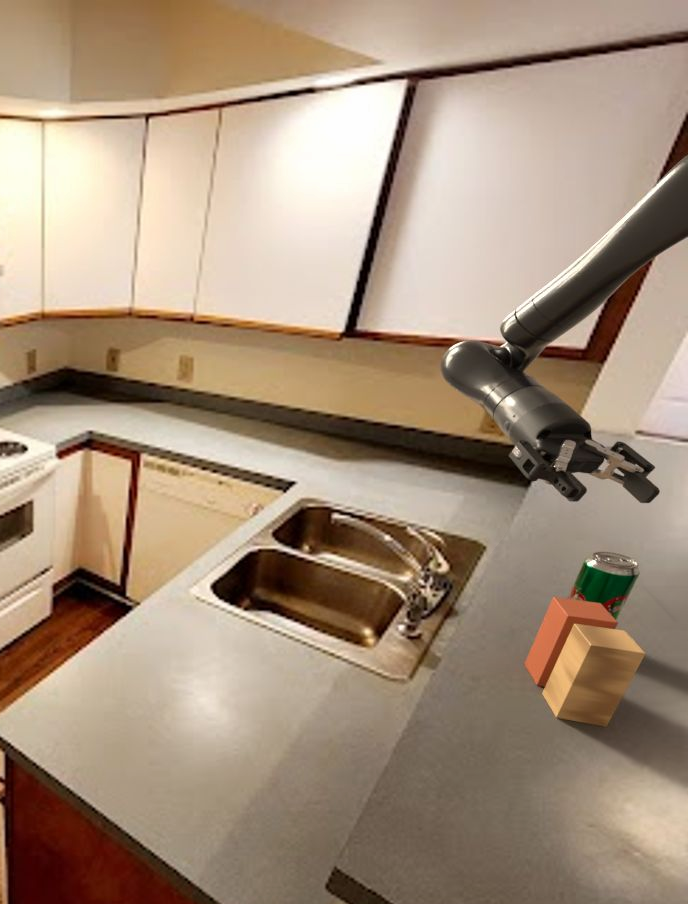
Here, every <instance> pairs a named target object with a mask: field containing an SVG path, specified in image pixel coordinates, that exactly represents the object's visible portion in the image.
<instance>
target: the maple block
mask: <svg viewBox="0 0 688 904" xmlns="http://www.w3.org/2000/svg"><path fill="white" fill-rule="evenodd" d="M645 655H646V652H645V651H644V650H643V648H641V647H640V646H639V644H638V643H637V642H636V641H635V640H634V639H633V638H632V636H631V635H630V634H629V633H628V632H627V631H626V630H622V629H616V628H615V629H609V628H602V627H595V626H588V625H581V624H574V625H573V627H572V629H571V631H570V634H569V636H568V638H567V640H566V642H565V645H564V647H563V649H562V651H561V653H560V656H559V658H558V660H557V662H556V664H555V666H554V669H553V671H552V673H551V675H550V677H549V680H548V682H547V684H546V686H545V687H544V689H543V690H542V692H541V694H542V697H543V698H544V699H545V701H546V703H547V704H548V706H549V708H550V709H551V711H552V713H553V714H554V717H555V718H556V719H561V720H566V721H573V722H577V723H582V724H586V725H587V724H588V725H593V726H598V727H604V728H607V727H608V725H609V723H610V722H611V719H612V717H613V716H614V713H615V712H616V710H617V708H618V706H619V704H620V703H621V701H622V699H623V697H624V695H625V693H626V691H627V689H628V687H629V686H630V684H631V682H632V680H633V678H634V676H635V674H636V672H637V670H638V668H639V666H640V665H641V663H642V661H643V659H644V657H645Z"/></svg>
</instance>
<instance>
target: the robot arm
mask: <svg viewBox="0 0 688 904" xmlns="http://www.w3.org/2000/svg"><path fill="white" fill-rule="evenodd" d="M687 238H688V154H687V155H686V156H684V157H683V158H682V159H681V160H679V161H678V162H677V163H676V164H675V165H674V166H673V167H672V168H671V169H670V170H668V171H667V173H665V174H664V175H663V176H662V178H661V179H659V181H657V182H656V184H654V185H653V187H652V188H650V190H648V191H647V192H646V194H645V195H644V196H642V198H641V199H640V200H639V201H638V202H637V203H636V204H635V205H634V206H633V207H632V208H631V209H630V211H628V212H627V213H626V214H625V215H624V216H623V217H622V218H621V219H620V220H619V221H618V222H617V223H615V225H614V226H613V227H612V228H611V229H610V230H608V231H607V232H606V233H605V234H604V235H603V236H602V237H601V238H600V239H599V240H598V241H596V243H595V244H593V246H591V247H590V248H589V249H588V250H586V252H585V253H583V255H581V256H580V257H579V258H578V259H577V260H575V261H574V262H573V263H572V264H570V266H568V267H567V268H566V269H565V270H563V271H562V272H560V274H559V275H557V276H556V277H555V278H554V279H552V280H551V281H550V282H548V283H547V284H546V285H545V286H543V287H542V288H541V289H540V290H538V291H537V292H535V293H534V294H533V295H532V296H530V297H529V298H528V299H526V301H524V302H523V303H521V304H520V305H519V306H517V308H515V309H514V310H513V311H512V312H510V313H509V314H508V315H507V316H506V317H505V318H504V319H503V320H502V322H501V324H500V327H499V330H500V335H501V337H502V338H503V340H505V341H506V342H505V343H503V344H502V345H500V346H499V345H496V344H491V343H487V342H485V341H479V340H473V339H471V340H463V341H461V342H458V343H455V344H454V345H452V346H450V347H449V349H447V350H446V352H445V353H444V354H443V356H442V358H441V361H440V373H441V376H442V378H443V380H444V381H445V382H446V383H447V384H448V385H449V386H450V387H451V388H453V389H454V390H456V391H457V392H459V393H460V394H461V395H463V396H464V397H466V398H467V399H469V400H471V401H473V402H474V403H476V404H477V405H479V406H480V407H481V408H482V409H483V411H485V413H486V414H487V415H488V416H489V417H490V418H491V419H492V420H493V421H494V422H495V423H496V425H497V427H498V429H500V432H502V433H503V435H504V436H505V437H506V438H507V439H508V440H509V441H510V442H511V443H512V444H513V445H514V447H513V449H512V450H511V452H510V453H509V454H508V458H510V460H511V461H512V462H513V463H514V465H516V467H517V468H518V470H519V471H520V472H521V474H523V475H524V478H526V479H527V480H529V481H531V482H537V481H538V480H542V481H543V482H544V483H545V484H547V485H552V487H553V488H554V489H556V491H557V492H558V493H559V494H560V495H561V496H563V497H564V498H565V499H566V500H567V501H568V502H570V503H575V502H576V503H577V502H580V500H581V499H582V498H583V497H584V496H585V495H586V493H587V492H588V489H587V487H586V486H585V485H584V484H583V482H581V481H580V480H579V479H578V478H577V477H576V476H575V475H574V474H576V473H582V474H587V475H589V476H593V477H595V478H597V479H599V480H602V481H603V480H607V479H608V480H611V481H613V482H615V483H617V484H620V485H621V486H622V487H623V488H624V489H625V490H626V491H627V492H628V493H629V494H630V495H631V496H633V498H635V499H636V500H637V501H638V502H639V503H640V504H650V503H651V502H653V501H654V500H655V499H656V498H657V497H658V496H659V495H660V492H661V491H660V488H659V487H658V486H657V485H656V484H654V483H653V482H652V481H651V480H650V479H649V478H648V476H649V475H650V474H651V473H652V472H653V471H654V470H655V469H656V466H655V465H654V464H652V463H651V462H650V461H649V460H648V459H646V458H645V457H643V456H642V455H641V454H640V453H639V452H637V451H636V450H634V449H633V448H632V447H631V446H630V445H629V444H627V443H625V442H623V441H616V442H614V444H613V445H611V446H604V444H602V443H600V442H598V441H596V440H594V439H593V436H592V435H593V434H592V427H591V424H590V423H589V422H588V421H587V420H586V419H585V418H584V417H582V415H580V413H578V412H577V411H576V410H575V409H574V408H573V407H571V406H570V405H569V404H568V403H567V402H566V401H564V400H563V399H562V398H561V397H560V396H559V395H557V394H555V393H554V392H552V391H550V390H549V389H547V388H546V387H545V386H544V385H543V384H541V382H539V381H538V380H537V379H536V378H535V377H533V376H532V375H531V374H529V373H527V372H526V370H527V369H528V368H529V367H530V365H531V364H532V363H533V362H534V361H535V360H536V359H537V358H538V357H539V355H540V354H541V353H542V352H543V350H545V349H546V347H547V346H549V345H551V344H552V343H553V342H555V341H556V340H558V339H559V338H560V337H562V336H563V335H565V334H566V333H567V332H569V331H570V330H571V329H572V328H574V327H576V326H577V325H579V324H580V323H581V322H583V321H584V320H585V319H586V318H588V317H589V316H590V315H592V314H593V313H594V312H595V311H596V310H597V309H598V308H600V306H602V305H603V304H604V303H605V302H607V301H608V299H609V298H610V297H611V296H612V295H613V294H614V293H615V292H616V291H617V290H618V289H619V288H620V287H622V285H623V284H624V283H625V282H626V281H627V280H628V279H630V277H631V276H633V275H634V274H635V273H636V272H638V271H639V270H640V269H641V268H642V267H644V266H645V265H646V264H648V263H649V262H650V261H652V260H653V259H655V258H656V257H658V256H659V255H661V254H662V253H663V252H665V251H666V250H669V249H670V248H672V247H673V246H675V245H677V244H679V243H681V242H682V241H683V240H685V239H687ZM605 460H606V464H608V465H607V466H606V468H605V469H603V470H602V469H599V468H600V467H601V466H602V465H603V464H604V462H605ZM615 470H618V471H619V472H620V473H621V474H622V475H621V474H619V473H617V472H615Z"/></svg>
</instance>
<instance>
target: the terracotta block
mask: <svg viewBox="0 0 688 904" xmlns="http://www.w3.org/2000/svg"><path fill="white" fill-rule="evenodd" d="M618 623H619V622H618V620H617V621H616V620H615V619H614V618H613V617H612V615H611V614H610V613H609V612H608V611H607V610H606V609H605V608H604V606H603V605H602V604H601V603H595V602H588V601H580V600H573V599H568V598H565V597H557V596H553V597H552V599H551V602H550V603H549V606H548V609H547V611H546V613H545V615H544V618H543V620H542V622H541V625H540V627H539V629H538V632H537V633H536V635H535V638H534V641H533V643H532V645H531V648H530V650H529V652H528V654H527V657H526V659H525V662H524V666H525V668H526V669H527V671H528V674H529V675H530V676H531V678H532V680H533V681H534V682H535V685H536V686H539V687H544V688H545V686H546V684H547V682H548V680H549V677H550V675H551V673H552V671H553V669H554V666H555V664H556V662H557V660H558V658H559V656H560V653H561V651H562V649H563V647H564V645H565V642H566V640H567V638H568V636H569V634H570V631H571V629H572V627H573V625H574V624H581V625H588V626H595V627H602V628H609V629H616V628H617V627H618Z"/></svg>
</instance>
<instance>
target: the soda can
mask: <svg viewBox="0 0 688 904" xmlns="http://www.w3.org/2000/svg"><path fill="white" fill-rule="evenodd" d="M638 567H640V564H639V562H638V561H637V560H635V559H634V558H631V557H630V556H628V555H627V556H626V555H623V554H620V553H616V552H611V551H593V552H592V553H591V554H590V556H589V557H587V558H585V559H584V560H583V563H582V564H581V568H580V569H579V571H578V574H577V575H576V578H575V580H574V582H573V585H572V587H571V590H570V592H569V593H568V597H567V599H573V600H580V601H588V602H595V603H601V604H602V605H603V606H604V608H605V609H606V610H607V611H608V612H609V613H610V614H611V615H612V617H613V618H614V619H615V620H616V621H617V622H618V619H619V617H620V614H621V612H622V611H623V608H624V606H625V605H626V603H627V601H628V599H629V596H630V594H631V592H632V591H633V588H634V586H635V584H636V582H637V580H638V579H639V576H640V575H641V574H640V570H639V568H638Z"/></svg>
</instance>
